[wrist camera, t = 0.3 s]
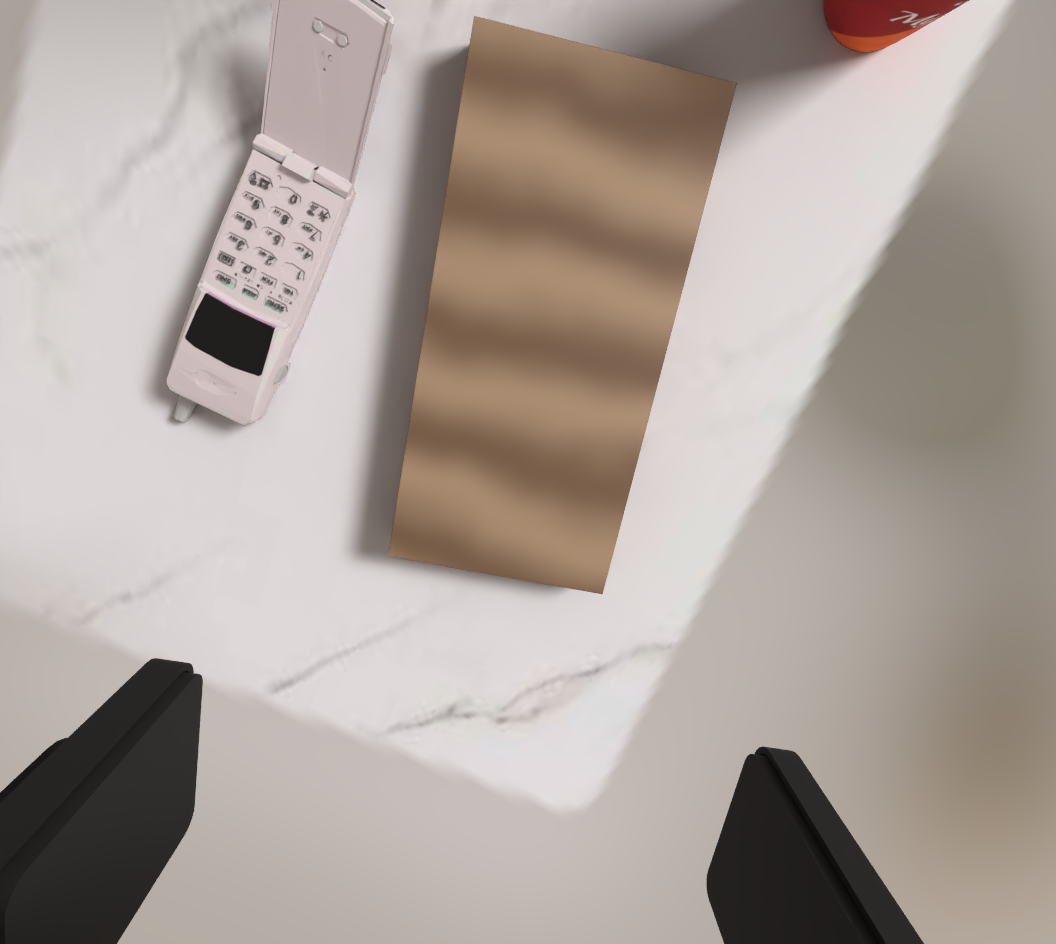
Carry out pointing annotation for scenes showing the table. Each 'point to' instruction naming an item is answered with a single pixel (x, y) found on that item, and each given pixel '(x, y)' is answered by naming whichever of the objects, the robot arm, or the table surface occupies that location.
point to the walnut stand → (551, 302)
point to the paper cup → (881, 20)
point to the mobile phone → (283, 207)
